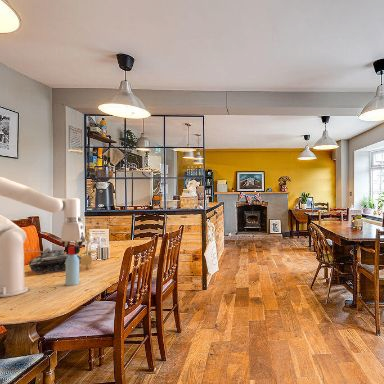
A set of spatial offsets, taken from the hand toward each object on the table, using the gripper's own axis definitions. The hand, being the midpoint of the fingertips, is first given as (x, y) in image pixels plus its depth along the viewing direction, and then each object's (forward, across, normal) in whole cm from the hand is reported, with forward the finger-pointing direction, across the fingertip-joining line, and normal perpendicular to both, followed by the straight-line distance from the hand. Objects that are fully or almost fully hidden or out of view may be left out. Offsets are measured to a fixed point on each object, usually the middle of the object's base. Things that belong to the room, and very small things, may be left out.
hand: (72, 253), depth 157 cm
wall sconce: (+17, +7, -30) cm, 36 cm away
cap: (0, 0, 0) cm, 0 cm away
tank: (+17, +27, -30) cm, 44 cm away
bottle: (+17, 0, 0) cm, 17 cm away
